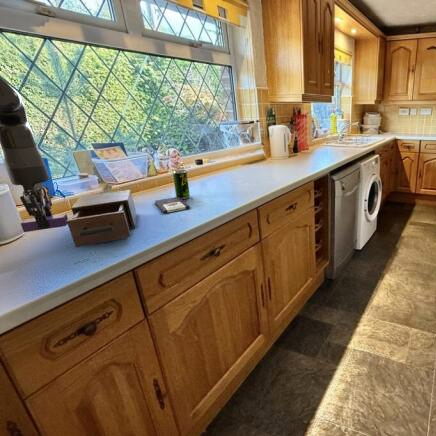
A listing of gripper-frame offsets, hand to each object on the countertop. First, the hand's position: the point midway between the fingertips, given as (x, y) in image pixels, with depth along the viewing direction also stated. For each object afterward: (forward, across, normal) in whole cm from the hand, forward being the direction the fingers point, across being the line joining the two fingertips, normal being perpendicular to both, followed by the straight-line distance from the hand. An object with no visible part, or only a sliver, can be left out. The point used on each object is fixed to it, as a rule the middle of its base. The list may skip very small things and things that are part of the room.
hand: (46, 225), depth 85 cm
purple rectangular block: (0, 0, 0) cm, 0 cm away
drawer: (+5, -4, -13) cm, 15 cm away
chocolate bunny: (+6, +36, -11) cm, 39 cm away
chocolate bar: (+5, +23, -32) cm, 40 cm away
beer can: (+5, +33, -37) cm, 50 cm away
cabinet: (+6, +10, -13) cm, 17 cm away
